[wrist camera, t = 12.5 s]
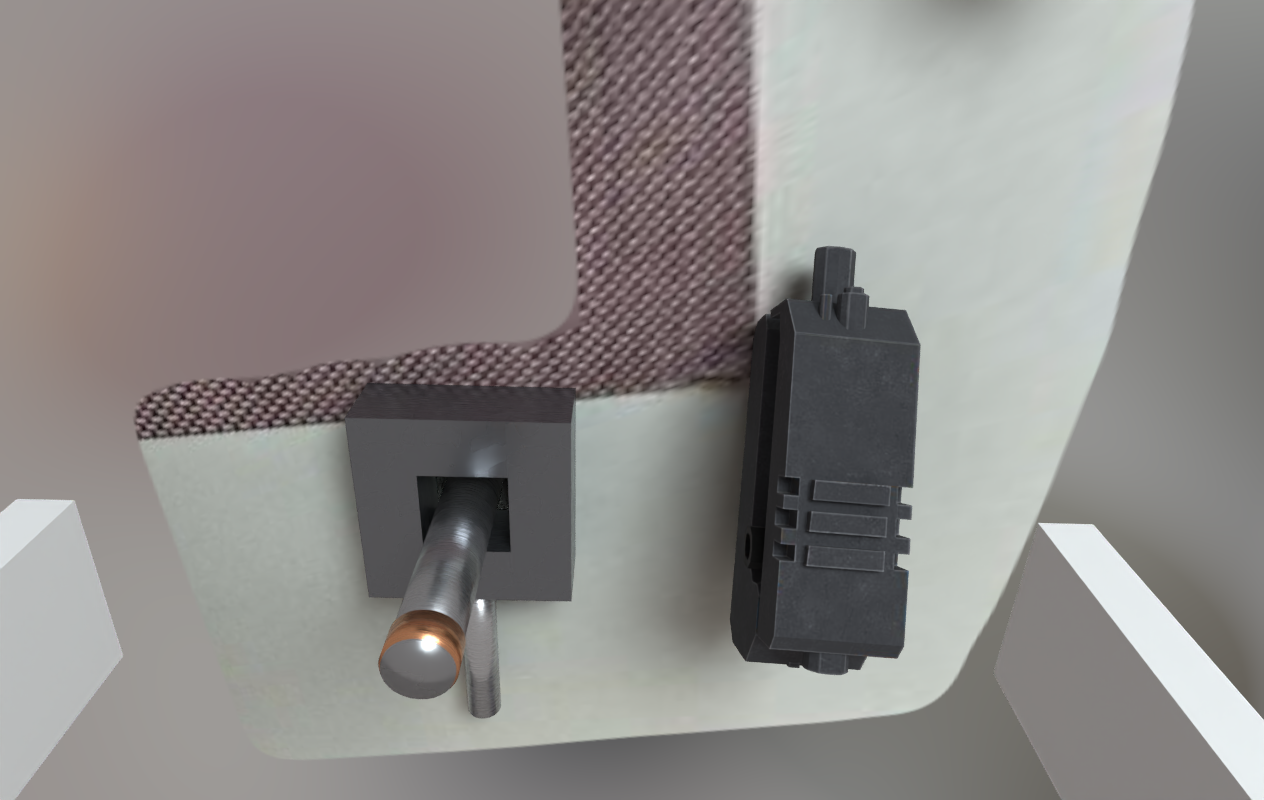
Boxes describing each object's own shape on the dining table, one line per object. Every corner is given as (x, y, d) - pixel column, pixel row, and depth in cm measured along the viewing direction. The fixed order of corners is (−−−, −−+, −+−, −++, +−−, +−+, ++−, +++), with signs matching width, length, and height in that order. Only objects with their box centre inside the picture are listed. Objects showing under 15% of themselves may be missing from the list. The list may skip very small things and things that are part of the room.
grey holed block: (367, 383, 44) (344, 417, 40) (575, 388, 44) (571, 423, 41) (403, 679, 53) (387, 729, 50) (575, 682, 54) (571, 732, 50)
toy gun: (705, 619, 48) (761, 696, 33) (731, 289, 49) (797, 217, 34) (809, 627, 48) (912, 707, 33) (833, 299, 49) (943, 233, 34)
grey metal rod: (446, 449, 46) (373, 639, 32) (504, 450, 46) (455, 641, 32) (450, 498, 47) (381, 700, 34) (506, 499, 47) (460, 701, 34)
